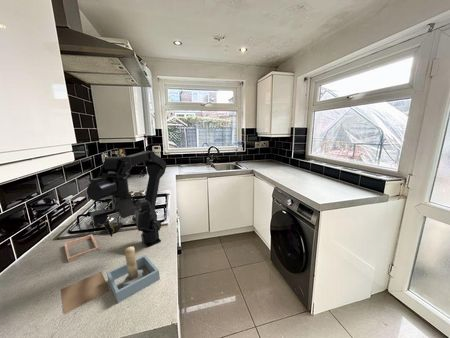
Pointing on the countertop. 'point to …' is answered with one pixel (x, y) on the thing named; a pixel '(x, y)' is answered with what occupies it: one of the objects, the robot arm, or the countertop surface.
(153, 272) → the box
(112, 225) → the tape measure
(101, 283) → the far plate
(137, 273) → the rubber stamp
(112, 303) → the countertop surface
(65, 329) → the countertop surface
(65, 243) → the pink rectangular frame
